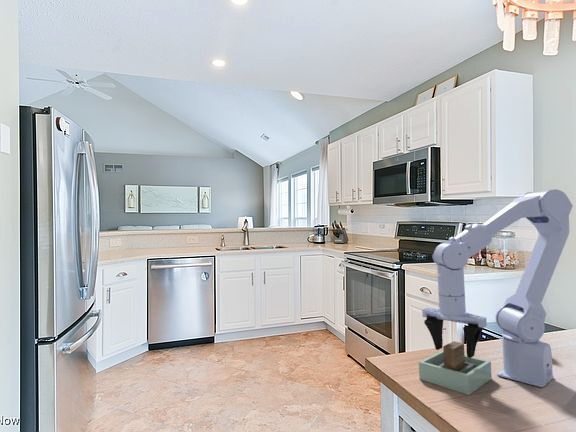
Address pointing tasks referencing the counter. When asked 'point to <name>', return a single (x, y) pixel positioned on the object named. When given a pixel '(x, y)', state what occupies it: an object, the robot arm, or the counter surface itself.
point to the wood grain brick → (454, 356)
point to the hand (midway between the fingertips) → (454, 352)
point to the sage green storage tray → (455, 373)
